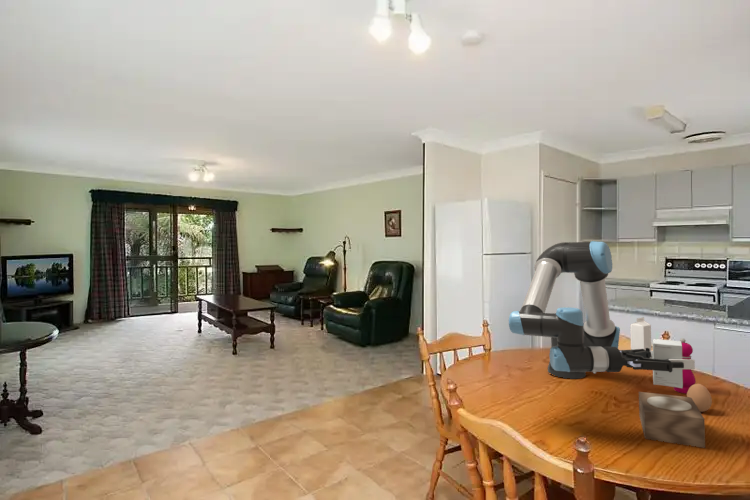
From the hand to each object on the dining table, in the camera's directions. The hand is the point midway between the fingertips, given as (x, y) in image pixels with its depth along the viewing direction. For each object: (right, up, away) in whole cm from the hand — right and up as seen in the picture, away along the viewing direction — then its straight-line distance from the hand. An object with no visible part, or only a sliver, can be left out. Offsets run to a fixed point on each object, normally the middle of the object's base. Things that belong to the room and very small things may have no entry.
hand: (683, 359), depth 128 cm
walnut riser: (-4, -22, +1) cm, 22 cm away
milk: (+29, -20, +67) cm, 76 cm away
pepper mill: (+25, -21, +33) cm, 46 cm away
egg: (+16, -21, +14) cm, 30 cm away
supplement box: (-4, -8, +1) cm, 9 cm away
